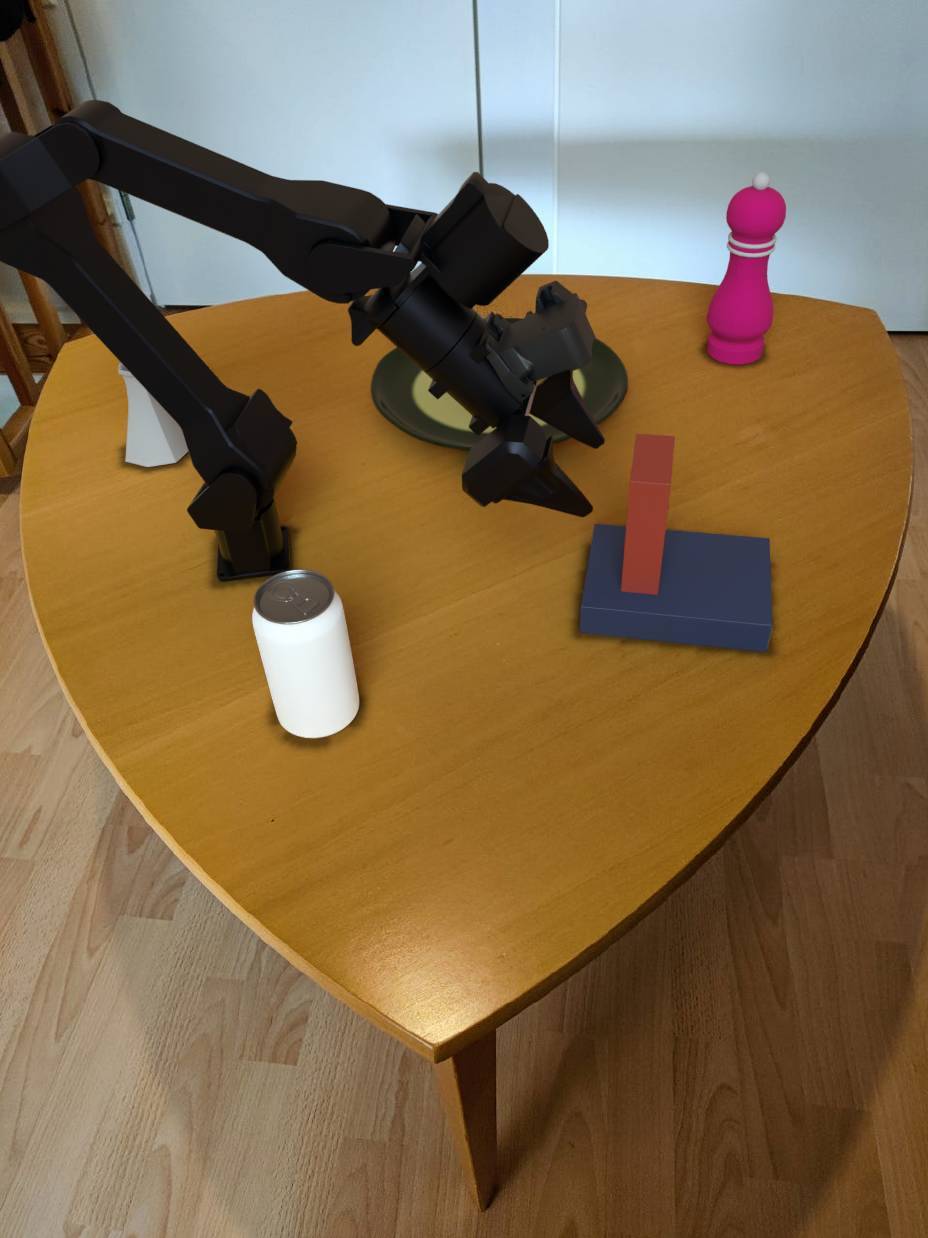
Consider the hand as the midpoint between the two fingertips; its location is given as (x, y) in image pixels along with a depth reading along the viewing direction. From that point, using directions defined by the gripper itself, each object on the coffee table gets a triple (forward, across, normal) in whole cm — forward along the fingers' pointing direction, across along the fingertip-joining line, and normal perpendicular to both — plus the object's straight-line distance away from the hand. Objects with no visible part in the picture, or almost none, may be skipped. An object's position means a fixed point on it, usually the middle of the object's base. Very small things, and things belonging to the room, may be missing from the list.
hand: (595, 477), depth 78 cm
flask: (-25, +15, +42) cm, 51 cm away
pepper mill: (+17, +43, 0) cm, 46 cm away
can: (-5, -17, +22) cm, 28 cm away
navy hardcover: (+14, 0, +3) cm, 14 cm away
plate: (-1, +30, +18) cm, 35 cm away
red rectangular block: (+9, 0, +3) cm, 10 cm away
